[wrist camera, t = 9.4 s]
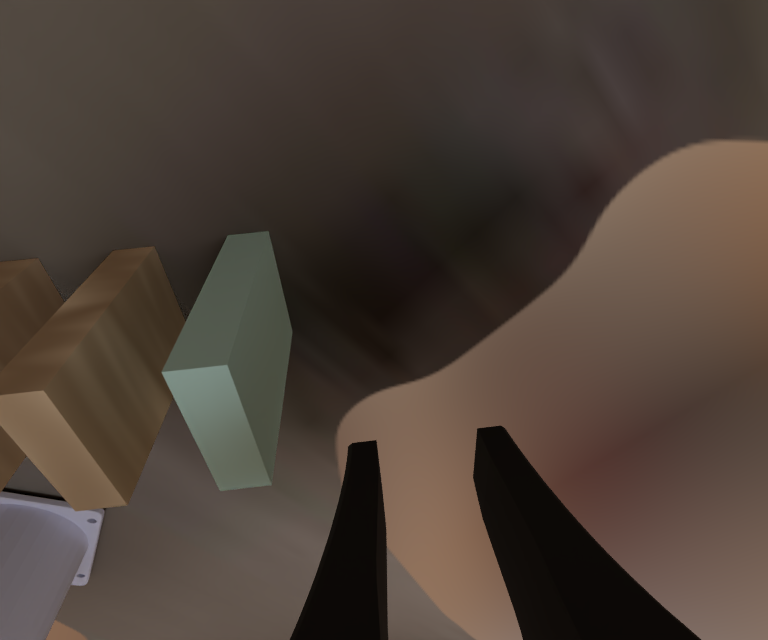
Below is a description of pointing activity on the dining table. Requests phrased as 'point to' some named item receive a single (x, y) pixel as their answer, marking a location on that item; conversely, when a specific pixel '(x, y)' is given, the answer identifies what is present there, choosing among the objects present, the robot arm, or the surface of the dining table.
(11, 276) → the domino
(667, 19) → the dining table surface
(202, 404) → the teal domino
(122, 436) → the domino
